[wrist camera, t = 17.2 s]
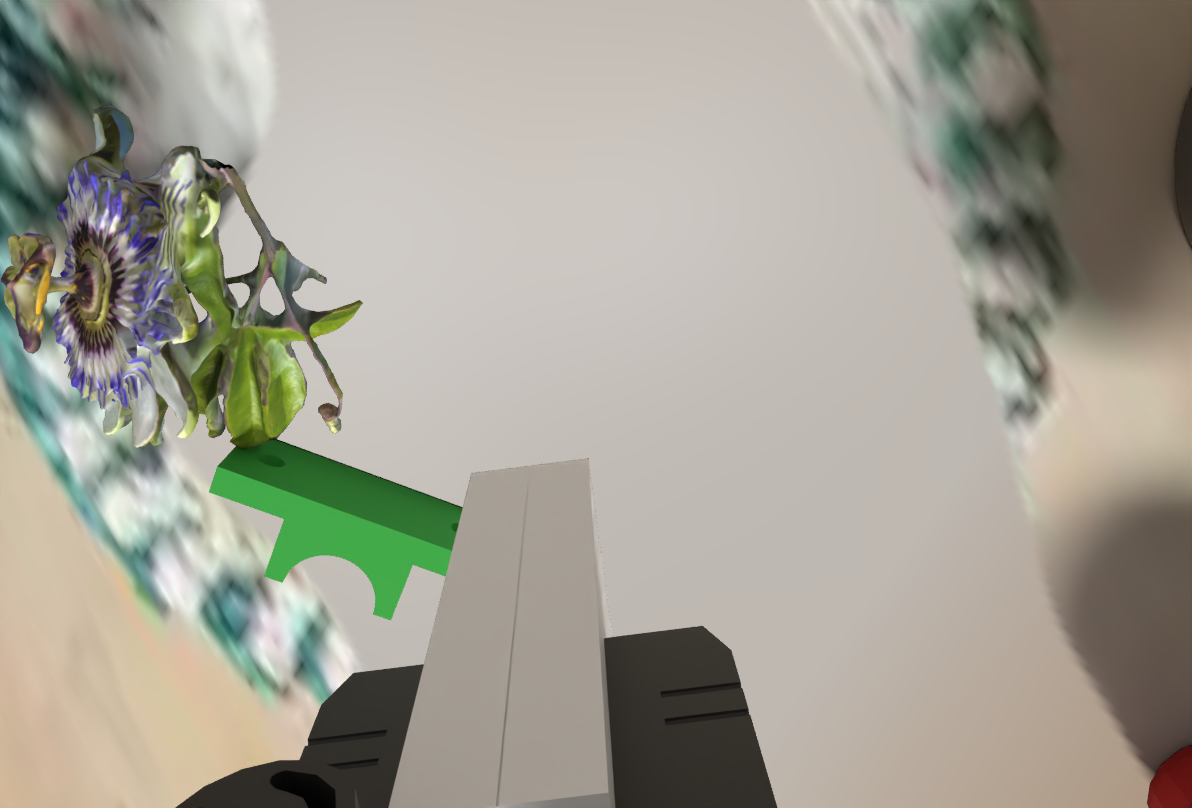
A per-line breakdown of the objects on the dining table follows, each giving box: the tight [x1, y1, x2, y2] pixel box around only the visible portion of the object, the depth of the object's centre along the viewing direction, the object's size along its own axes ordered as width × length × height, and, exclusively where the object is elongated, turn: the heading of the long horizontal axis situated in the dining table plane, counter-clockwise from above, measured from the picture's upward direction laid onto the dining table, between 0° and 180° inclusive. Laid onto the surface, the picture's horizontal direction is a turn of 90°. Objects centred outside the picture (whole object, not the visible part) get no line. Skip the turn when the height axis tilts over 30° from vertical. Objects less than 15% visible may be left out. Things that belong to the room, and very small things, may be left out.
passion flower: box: [1, 105, 363, 449], centre depth 38 cm, size 11×11×12 cm
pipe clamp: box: [209, 439, 463, 620], centre depth 43 cm, size 11×4×5 cm, turn 68°
